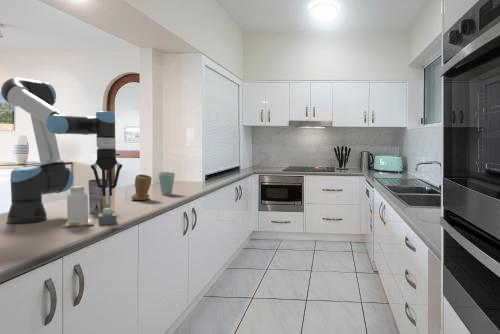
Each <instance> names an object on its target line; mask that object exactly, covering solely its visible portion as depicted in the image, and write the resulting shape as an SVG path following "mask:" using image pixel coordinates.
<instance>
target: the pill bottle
mask: <svg viewBox="0 0 500 334" xmlns="http://www.w3.org/2000/svg"><path fill="white" fill-rule="evenodd" d="M69 191H70V193H68V194H67V197H66V200H67V204H66V205H67V206H66V207H67V209H66V210H67V220H68V223H73V224H77V223H85V222H87V221H88V219H89V194H87V192H85V187H84V186H83V185H75V186H73V185H71V187H70V189H69Z"/></svg>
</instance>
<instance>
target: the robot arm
mask: <svg viewBox="0 0 500 334" xmlns="http://www.w3.org/2000/svg"><path fill="white" fill-rule="evenodd" d="M0 93H1V96H2V98H3V100H4V101H6V103H8V104H10V105H12V106H13V107H19V108H20V109H22V110H23V111H25V112H27V113H28V114H29V115H30V119H31V123H32V128H33V133H34V139H35V143H36V147H37V151H38V153H37V154H38V157H39V164H38V165H31V166H30V165H29V166H21V167H18V168H14V169H13V170H11V173H10V195H11V196H10V197H11V201H10V202H11V205H10V207H9V211H8V214H7V216H6V221H7V223H9V224H31V223H38V222H43V221H46V220H47V219H48V215H47V212H46V211H47V210H46V209H45V206H44V204H43V195H50V194H59V193H64V192H68V190H69V191H70V187H72V186H73V183H74V172H73V170H72V169H71V168H70V167H68V166H66V162H65V161H64V160H62V159H61V154H60V149H59V146H58V141H57V136H56V135H63V134H64V135H84V136H85V135H86V136H87V135H96V148H97V149H96V161H95V163H93V164H91V165H90V168H91V169H92V171H93V175H94V177H95V178H94V179H96V181H97V185H98V187H100V188H102V194H103V196H105V201H106V204H109V196H110V197H111V196H113V189H114V188H116V187H117V186H118V185H117V184H118V181H119V175H120V172H121V169H122V168H123V164H122V163H120V162H118V159H117V157H116V155H117V153H116V151H117V150H116V147H117V145H116V117H115V112H114V111H111V110H110V111H108V110H107V111H105V110H101V111H96V113H95V116H82V115H81V116H80V115H68V114H65V113H64V112H62V111H60V110H59V109H57V108H55V107H54V105H55V103H56V99H57V94H56V90H55V88H54V87H53V85H52V84H50V83H49V82H46V81H43V80H34V79H29V78H28V79H27V78H22V77H12V78H9V79H7V80H6V81H4V82H3V83H2V86H1V89H0ZM115 166H116V170H115V175H114V180H113V179H112V178H113V177H112V176H113V175H112V174H113V172H112V170H113V169H114V168H115ZM98 167H99V169H100V170H101V179H102V185H101V184H100V181H99V179H100V177H99V174H98V171H97V168H98ZM106 171H108V179H109V188H105V179H106ZM112 180H113V181H112Z"/></svg>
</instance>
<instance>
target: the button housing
mask: <svg viewBox="0 0 500 334" xmlns="http://www.w3.org/2000/svg"><path fill="white" fill-rule="evenodd" d="M116 224H117V213H116V212H111V215H106V216H103V213H98V225H99V226H100V225H101V226H102V225H103V226H104V225H116Z"/></svg>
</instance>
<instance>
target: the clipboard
mask: <svg viewBox="0 0 500 334" xmlns="http://www.w3.org/2000/svg"><path fill="white" fill-rule="evenodd" d="M94 222H95V218H93V217H92V218H88V221H87V222H85V223H77V224H73V223H68V219H65V220H64V219H63V222H62V224H61V229H65V228H67V229H69V228H80V227H81V228H83V227H94V225H95V223H94Z"/></svg>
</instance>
